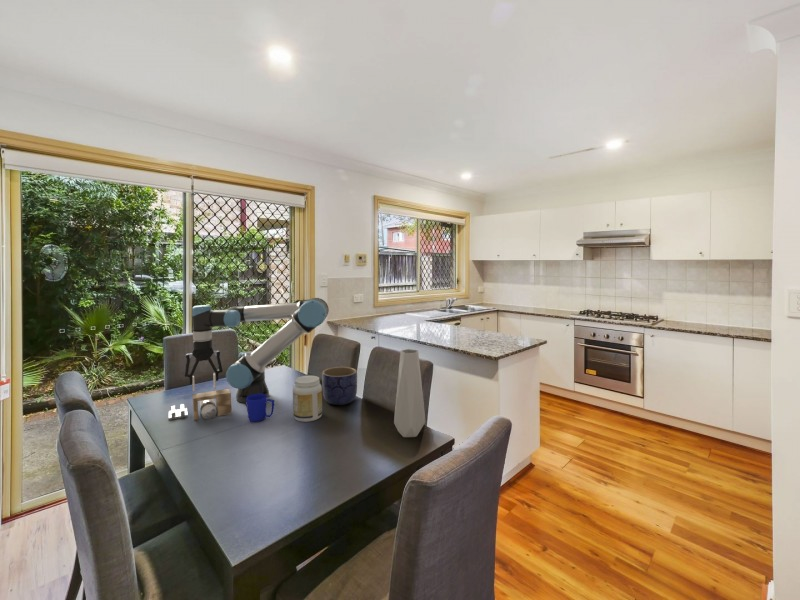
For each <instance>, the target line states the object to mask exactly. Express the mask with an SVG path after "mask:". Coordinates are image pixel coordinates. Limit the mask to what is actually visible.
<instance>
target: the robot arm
mask: <svg viewBox="0 0 800 600" xmlns="http://www.w3.org/2000/svg"><path fill="white" fill-rule="evenodd" d="M191 311H192V313H191V322H192V340H193V341H192V343H193V344H192V346H193V347H192V349H193V351H192V352H190V353H185V358H186V359H185V360H186V361H185V369H184V377H185V378H188V383H189V385H192V392H193V393H194V392H196V388H195V387H196V386H195V382H196V381H195V376H194V374H195V371H196V370H197V367H198V364H199V363H200V362H202V361H208V363H209V364H210V366H211V368H212V370H213V374H212V376H213V379H212V380H213V389H214V390H215V389H217V382H218V381H219V374H221V373H223V372H224V371H223V366H222V362H221V358H220V354H221V351H220V350H214V349H213V340H212V339H213V330H212V329H213V328H215V327H217V328H218V327H219V328H232V327H234V328H235V327H238V326H239V325H240V323H246V322H247V323H248V322H257V321H272V320H273V321H275V320H287V319H289V321H287V322H286V323H285V324H283V325H282V326H281V327H280V328H279V329H278V330H277V331H275V332H274V333H273V334H272V335H271V336H270V337H268V339H266V340H265V341H264V342H263V343H261V344H260V345H259V346H258V347H257V348H255V350H253V351H252V350H250V351H242V352H239V353H238V356H237V358H238V359H237V360H236V361H235V362H234V363H232V364H231V365H230V366H229V367H228V368H227V370H226V373H225V378H226V382H227V383H228V385H230V387H232V388H234V389H237V392H236V394H235V399H236V402H239V403H245V404H247V403H246V397H247V396H249V395H253V394H265V395H267V399H269V397H270V392H269V391H270V390H269V388H268V385H267V383H266V375H265V374H266V372H265V370H266V367H267V365H269V364H270V363H271V362H272V361H273V360H274V359H276V358H277V357H278V356H279V355H280V354H282V352H284V351H285V350H287V348H288V347H290V346H291V345H292V344H293V343H294V342H295V341H296V340H298V339H299V338H300V337H301V336H302V335H304V334H310V333H311V332H312V331H313V330H315V328H317V327H318V326H321V324H323V323H324V321H325V319H326V318H327V317H328V315H329V311H330V310H329V306H328V303H327V302H326V301H325V300H324V299H322V298H319V297H312V298H309V299H308V298H307V299H303V300H299V301H298V302H286V303H285V302H284V303H271V304H258V305H254V304H253V305H245V306H244V305H241V306H239V305H233V306H231V307H229V308H226V309H212V307H211V305H209V304H203V305H202V304H200V305H199V304H198V305H194V306H193V307H192V310H191ZM213 354H214V356H215V357H216V362H217V366H218V369H217V367H216V366H215V364H214V362H213V360H212V358H211V357H212V356H213ZM192 357H194V358H195V360H194V362H193V364H192V366H191V369H190V362H191V359H192ZM189 369H190V371H189Z"/></svg>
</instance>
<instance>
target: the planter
mask: <svg viewBox="0 0 800 600" xmlns="http://www.w3.org/2000/svg"><path fill="white" fill-rule="evenodd" d="M321 376H322V377H321V378H322V381H321V383H322V384H321V386H322V397H323V398H324V400H325V401H326V402H327V403H328V404H330V405H333V406H344V405H348V404H350V403H352V402H353V401H354V400H355V398H356V396H357V391H358V370H357V369H356V368H353V367H349V366H348V367H347V366H336V367H335V366H334V367H329V368H326V369H324V370H323V371H322V374H321Z"/></svg>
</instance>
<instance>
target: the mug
mask: <svg viewBox="0 0 800 600" xmlns="http://www.w3.org/2000/svg"><path fill="white" fill-rule="evenodd" d="M267 402H270V403H271V410H270V413H269V415H268V414H267ZM245 404H246V408H247V418H248V421H250V422H252V423H257V422H261V421H264V420H265V418H270V417H272V416H273V414H274V410H275V399H272V398H271V399H270V398H267V395H265V394H253V395H249V396H247V397H246V403H245Z"/></svg>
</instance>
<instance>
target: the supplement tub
mask: <svg viewBox="0 0 800 600" xmlns="http://www.w3.org/2000/svg"><path fill="white" fill-rule="evenodd" d="M292 406H293V407H292V410H293V414H292V415H293V418H294V420H296V422H297V421H298V422H301V423H302V422H303V423H305V422H307V423H308V422H313V421H317V420H318V419H320V418H321V417H322V415H323V387H322V384H321V381H320V377H319V376H316V375H302V376H298V377H296V378H295V379H294V385H293V388H292Z"/></svg>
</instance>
